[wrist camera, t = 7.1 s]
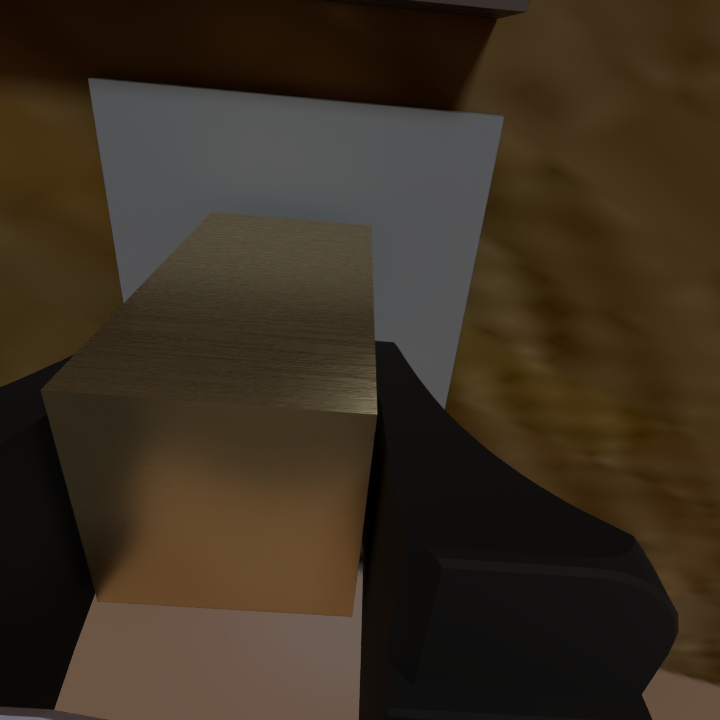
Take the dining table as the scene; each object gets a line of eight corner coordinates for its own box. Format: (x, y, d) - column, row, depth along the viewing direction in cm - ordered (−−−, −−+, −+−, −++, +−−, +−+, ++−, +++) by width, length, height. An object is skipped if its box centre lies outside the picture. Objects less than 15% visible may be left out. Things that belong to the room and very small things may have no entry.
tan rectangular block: (219, 350, 15) (97, 601, 8) (211, 211, 13) (40, 390, 6) (358, 361, 15) (352, 617, 8) (371, 225, 13) (376, 414, 6)
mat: (146, 409, 18) (141, 416, 18) (95, 77, 13) (87, 78, 12) (437, 430, 18) (438, 438, 18) (500, 115, 13) (504, 117, 13)
